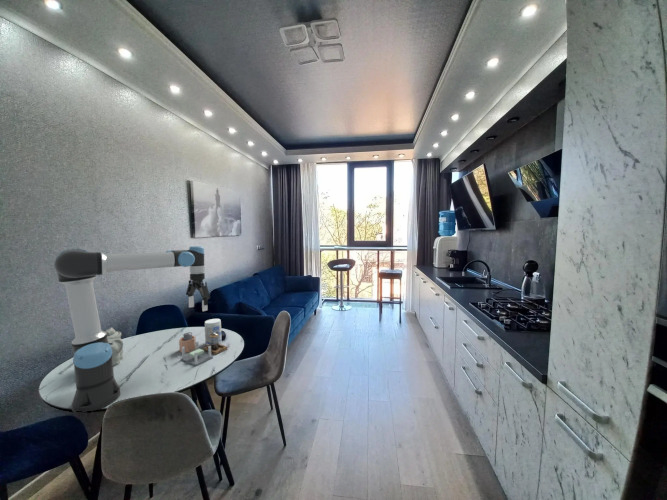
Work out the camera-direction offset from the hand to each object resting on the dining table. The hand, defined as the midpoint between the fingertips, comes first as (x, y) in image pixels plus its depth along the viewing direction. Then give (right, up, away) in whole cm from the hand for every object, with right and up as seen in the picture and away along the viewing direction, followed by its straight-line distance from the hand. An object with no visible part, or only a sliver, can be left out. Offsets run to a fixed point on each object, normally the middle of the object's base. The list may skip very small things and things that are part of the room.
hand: (198, 308), depth 147 cm
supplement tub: (+2, -26, +16) cm, 30 cm away
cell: (+7, -26, +6) cm, 27 cm away
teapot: (-43, -28, -10) cm, 52 cm away
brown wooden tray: (+7, -26, +6) cm, 28 cm away
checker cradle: (+2, -27, -5) cm, 28 cm away
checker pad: (+2, -24, -5) cm, 25 cm away
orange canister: (-10, -26, +7) cm, 29 cm away
